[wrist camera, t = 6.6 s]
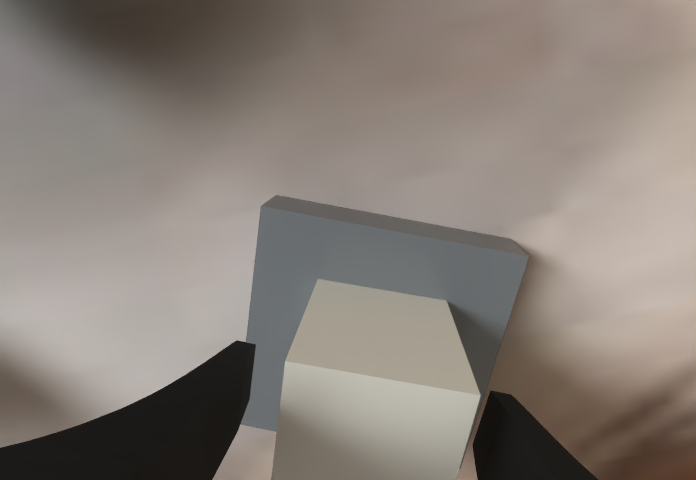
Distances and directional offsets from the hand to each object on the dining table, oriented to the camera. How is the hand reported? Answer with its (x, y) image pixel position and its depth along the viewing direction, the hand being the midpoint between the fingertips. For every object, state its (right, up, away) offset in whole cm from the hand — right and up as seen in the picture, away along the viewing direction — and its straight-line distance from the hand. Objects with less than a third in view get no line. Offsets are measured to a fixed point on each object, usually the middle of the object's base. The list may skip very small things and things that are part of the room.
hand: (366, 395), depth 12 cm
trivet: (0, +1, +4) cm, 5 cm away
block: (0, +1, +2) cm, 3 cm away
